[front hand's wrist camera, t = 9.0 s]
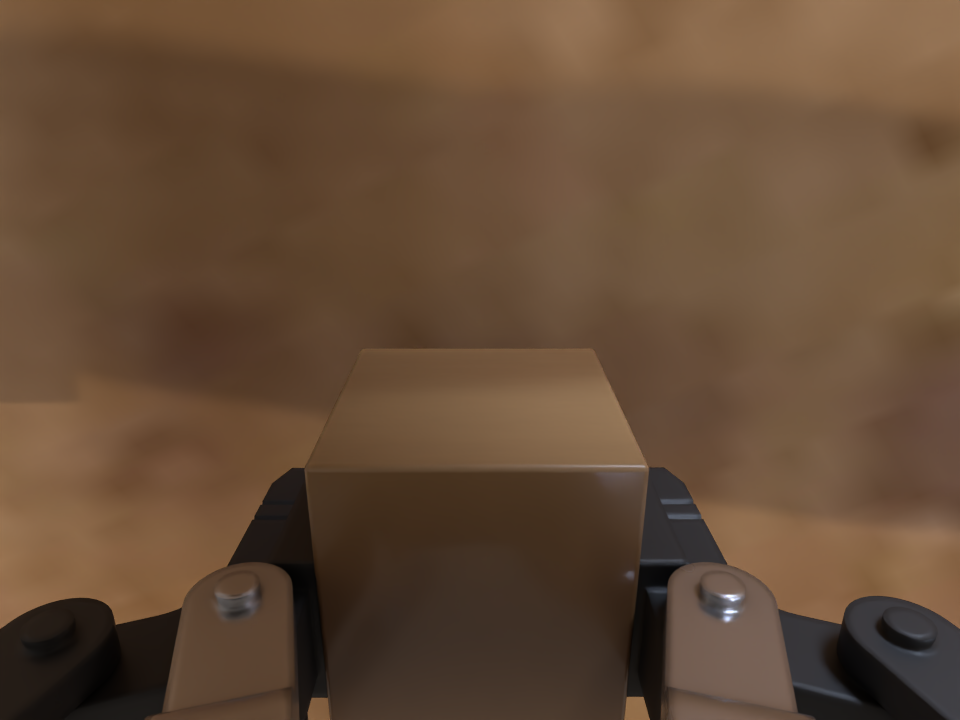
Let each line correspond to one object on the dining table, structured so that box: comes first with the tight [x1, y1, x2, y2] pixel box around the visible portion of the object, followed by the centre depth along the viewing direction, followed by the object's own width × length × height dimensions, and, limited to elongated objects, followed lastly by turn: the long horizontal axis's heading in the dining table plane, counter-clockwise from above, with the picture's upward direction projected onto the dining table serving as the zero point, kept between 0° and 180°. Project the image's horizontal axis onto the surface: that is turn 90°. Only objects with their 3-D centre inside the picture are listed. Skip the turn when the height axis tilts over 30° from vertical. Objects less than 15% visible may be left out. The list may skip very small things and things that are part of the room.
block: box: [304, 349, 649, 720], centre depth 11 cm, size 5×4×4 cm
